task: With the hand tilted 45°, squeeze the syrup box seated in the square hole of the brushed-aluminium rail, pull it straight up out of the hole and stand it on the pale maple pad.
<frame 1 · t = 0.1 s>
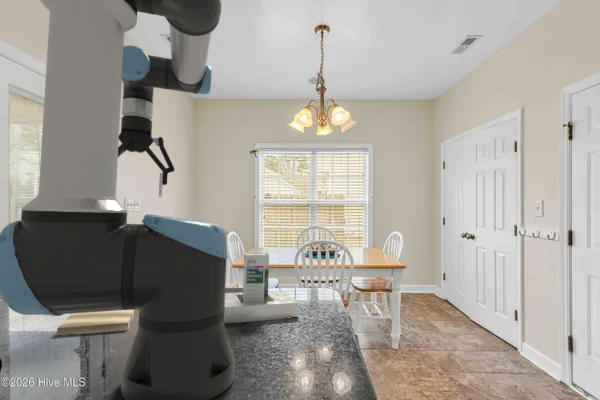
hand: (133, 195, 91), 28 cm above the countertop, tool pointing down, fingers open, 13 cm apart
maple pad: (100, 323, 71), on the countertop
parts tray frame: (91, 301, 88), on the countertop
rack rail: (254, 312, 82), on the countertop
pipe clamp: (91, 301, 88), resting in parts tray frame
syrup box: (254, 313, 82), resting in rack rail
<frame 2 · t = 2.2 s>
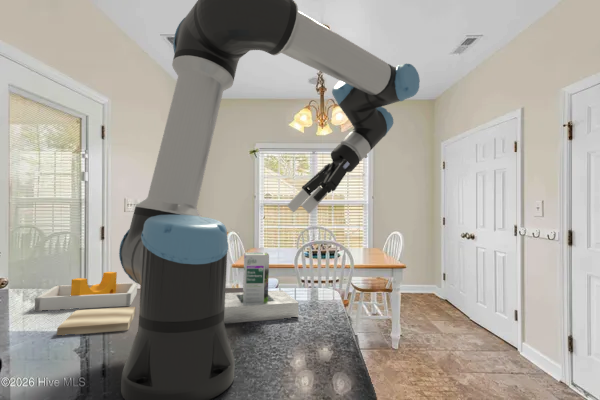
hand: (297, 209, 87), 25 cm above the countertop, tool tilted 40°, fingers open, 13 cm apart
nothing on the countertop moved.
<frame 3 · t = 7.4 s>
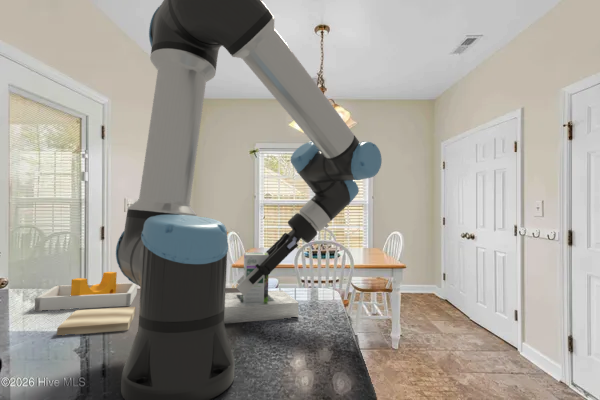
hand: (240, 288, 82), 6 cm above the countertop, tool tilted 45°, fingers closed on syrup box, 6 cm apart
syrup box: (254, 313, 82), resting in rack rail, touching gripper
everything else where it was.
when the fingers open (9 cm above the countertop, at t = 15.0 s): syrup box drops 1 cm, resting on maple pad.
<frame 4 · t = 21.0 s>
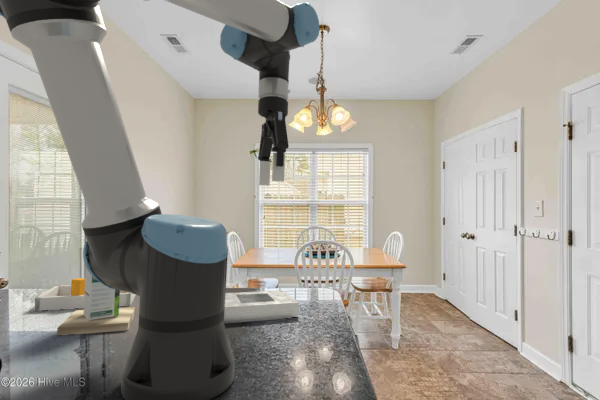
hand: (270, 183, 84), 32 cm above the countertop, tool pointing down, fingers open, 13 cm apart
syrup box: (100, 316, 71), point 1 cm above the countertop, touching maple pad
everything else where it was.
at the end: syrup box inside the target area (0.3 cm from its centre), point 1.3 cm above the countertop; syrup box tilted 0°; the gripper is holding nothing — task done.
